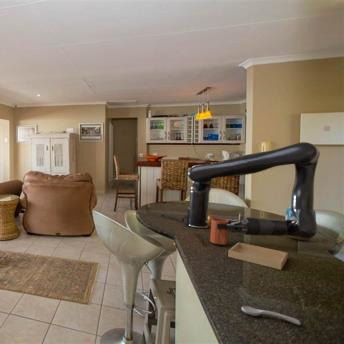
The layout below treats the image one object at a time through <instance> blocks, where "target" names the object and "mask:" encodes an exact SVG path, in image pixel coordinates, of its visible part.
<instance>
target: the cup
mask: <svg viewBox="0 0 344 344" xmlns="http://www.w3.org/2000/svg"><path fill="white" fill-rule="evenodd" d="M221 218H222V217H221ZM221 218H220V217H213V218H211V219H210V235H209V237H210V238H209V241H210V243H212V244H215V245H223V246H224V245H227V244H228V241H229V240H228V239H229V231H228V230H225V229H217V224H229V221H228V220H226V219H227V218H224V219H221Z"/></svg>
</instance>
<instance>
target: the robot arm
mask: <svg viewBox="0 0 344 344" xmlns="http://www.w3.org/2000/svg"><path fill="white" fill-rule="evenodd" d="M320 156H321V153H320V150H319V148H318V147H317V146H316V145H314V144H313V143H311V142H306V141H302V142H296V143H294V144H290V145H287V146H283V147H280V148H277V149H272V150H265V151H260V152H254V153H249V154H243V155H239V156H235V157H230V158H228V159H224V160H220V161H218V162H214V163H206V164H196V165H193V166H192V167H190V169H189V170H188V173H187V176H188V178H189V180H190V181H192V186H191V187H190V189H189V197H188V201H189V202H188V207H187V208H186V210H187V211H186V214H185V215H184V216H182V217H181V219H179V218H177V217H174V216H169V215H167V214H166V213H162V214H161V215H160V217H163V216H164V217H166V218H168V219H172V220H175V221H178V222H181V223H182V222H184V221H186V226H187V227H190V228H195V229H208V223H209V206H210V192H211V190H212V181H213V179H218V178H227V177H228V178H230V177H240V176H246V175H247V176H248V175H252V174H253V175H254V174H258V173H260V172H264V171H267V170H269V169H272V168H275V167H276V168H277V167H280V166H281V167H282V166H288V165H293V166H294V181H293V182H294V183H293V187H292V190H291V199H290V200H291V201H290V206H291V211H292V212H293V213H294V214H296V219H297V220H285V219H279V218H278V219H277V218H265V217H253V216H251V217H250V216H244V218H243V219H242V220H241V221H239V219H234V218H223V217H221V219H226V220H228V221H229V224H217V229H225V230H228V232H229V231H230V232H231V233H242V234H244V235H245V236H260V237H261V236H262V237H268V236H271V237H284V236H288V237H289V236H296V237H301V238H306V239H309V238H311V239H313V238H314V237H315V236H316V235H317V232H318V224H317V218H316V219H315V215H314V212H313V209H314V207H315V206H314V205H315V176H316V172H317V171H316V170H317V166H318V163H319V160H320ZM309 240H310V239H309Z"/></svg>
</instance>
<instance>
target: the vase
mask: <svg viewBox="0 0 344 344" xmlns="http://www.w3.org/2000/svg"><path fill="white" fill-rule="evenodd" d="M313 212H314V215H315V219H316V220H317V213H316V210H315V208H313ZM284 220H297V219H296V214H294V213H293V212H292V211H291V205H290V206H288V207H287V209H286V212H285V218H284ZM288 237H289V238H291V239H293V240H298V241H309V240H311V239H312V238H309V239H306V238H301V237H296V236H288Z"/></svg>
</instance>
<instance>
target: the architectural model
mask: <svg viewBox="0 0 344 344" xmlns="http://www.w3.org/2000/svg"><path fill="white" fill-rule="evenodd" d="M244 217H245V214H241V213H239V216H238V221H241V220H242V219H243V218H244Z"/></svg>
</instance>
